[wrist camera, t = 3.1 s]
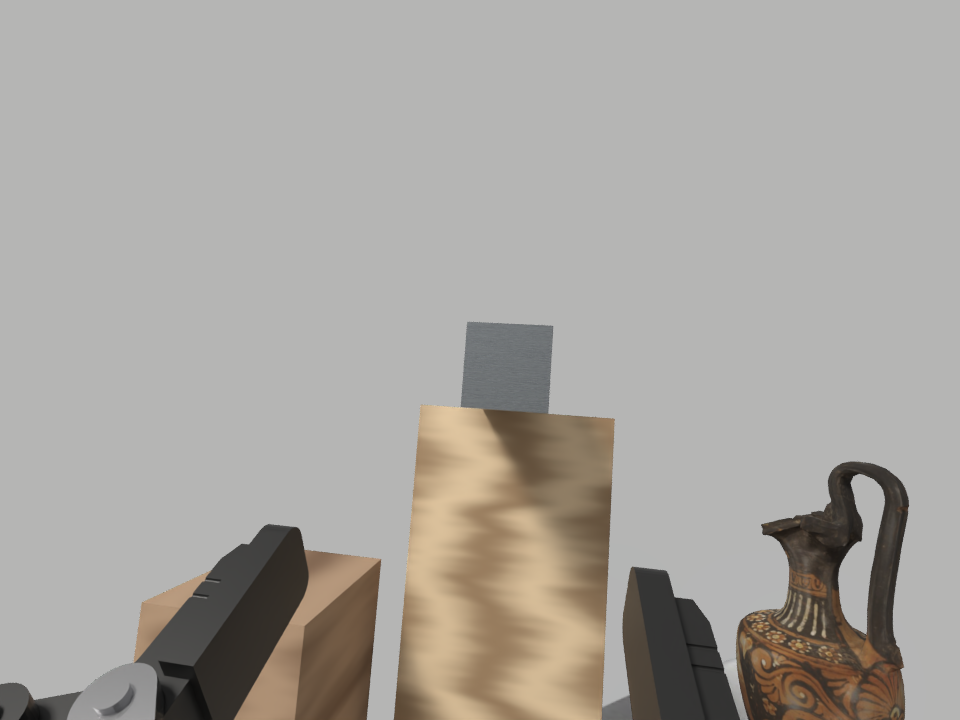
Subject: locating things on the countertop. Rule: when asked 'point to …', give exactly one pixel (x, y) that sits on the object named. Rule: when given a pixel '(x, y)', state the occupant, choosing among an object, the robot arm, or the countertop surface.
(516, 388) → the tin
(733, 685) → the countertop surface
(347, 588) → the walnut block
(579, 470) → the oak block
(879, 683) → the vase
